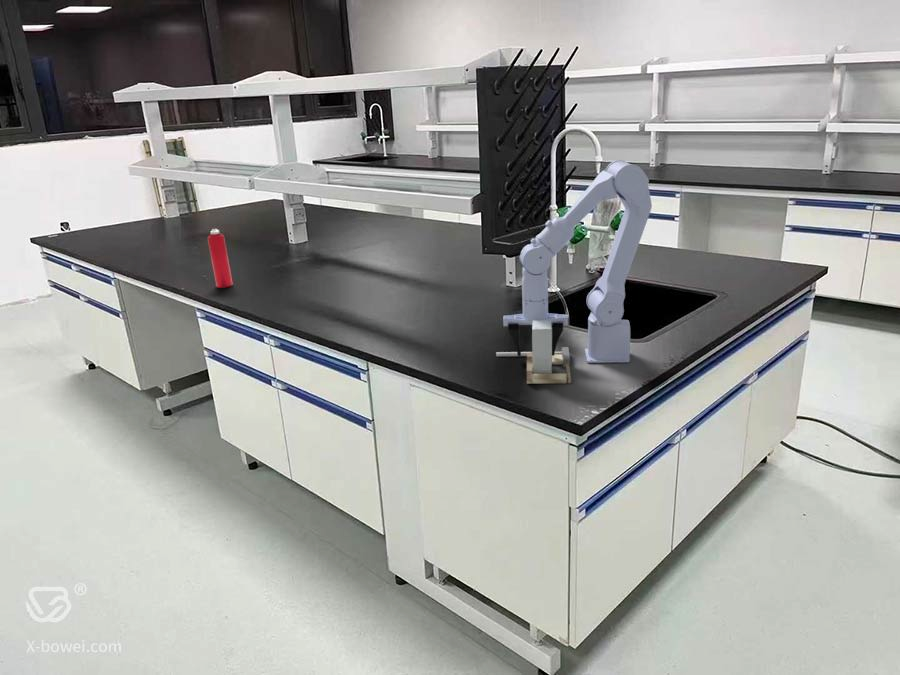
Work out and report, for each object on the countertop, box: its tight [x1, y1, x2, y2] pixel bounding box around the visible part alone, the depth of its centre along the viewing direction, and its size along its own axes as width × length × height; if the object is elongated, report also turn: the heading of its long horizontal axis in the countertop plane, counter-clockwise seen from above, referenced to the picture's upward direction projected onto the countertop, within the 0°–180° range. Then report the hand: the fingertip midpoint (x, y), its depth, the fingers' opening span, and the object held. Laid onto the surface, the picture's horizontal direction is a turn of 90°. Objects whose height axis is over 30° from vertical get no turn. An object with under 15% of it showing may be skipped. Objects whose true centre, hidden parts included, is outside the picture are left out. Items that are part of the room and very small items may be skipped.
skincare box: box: [531, 320, 553, 374], centre depth 147 cm, size 6×4×12 cm
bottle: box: [207, 228, 234, 289], centre depth 232 cm, size 6×5×20 cm
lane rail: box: [495, 346, 571, 368], centre depth 157 cm, size 17×7×2 cm, turn 83°
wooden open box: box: [526, 353, 572, 385], centre depth 151 cm, size 9×15×6 cm, turn 173°
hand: (535, 354), depth 156 cm, fingers open, 7 cm apart
